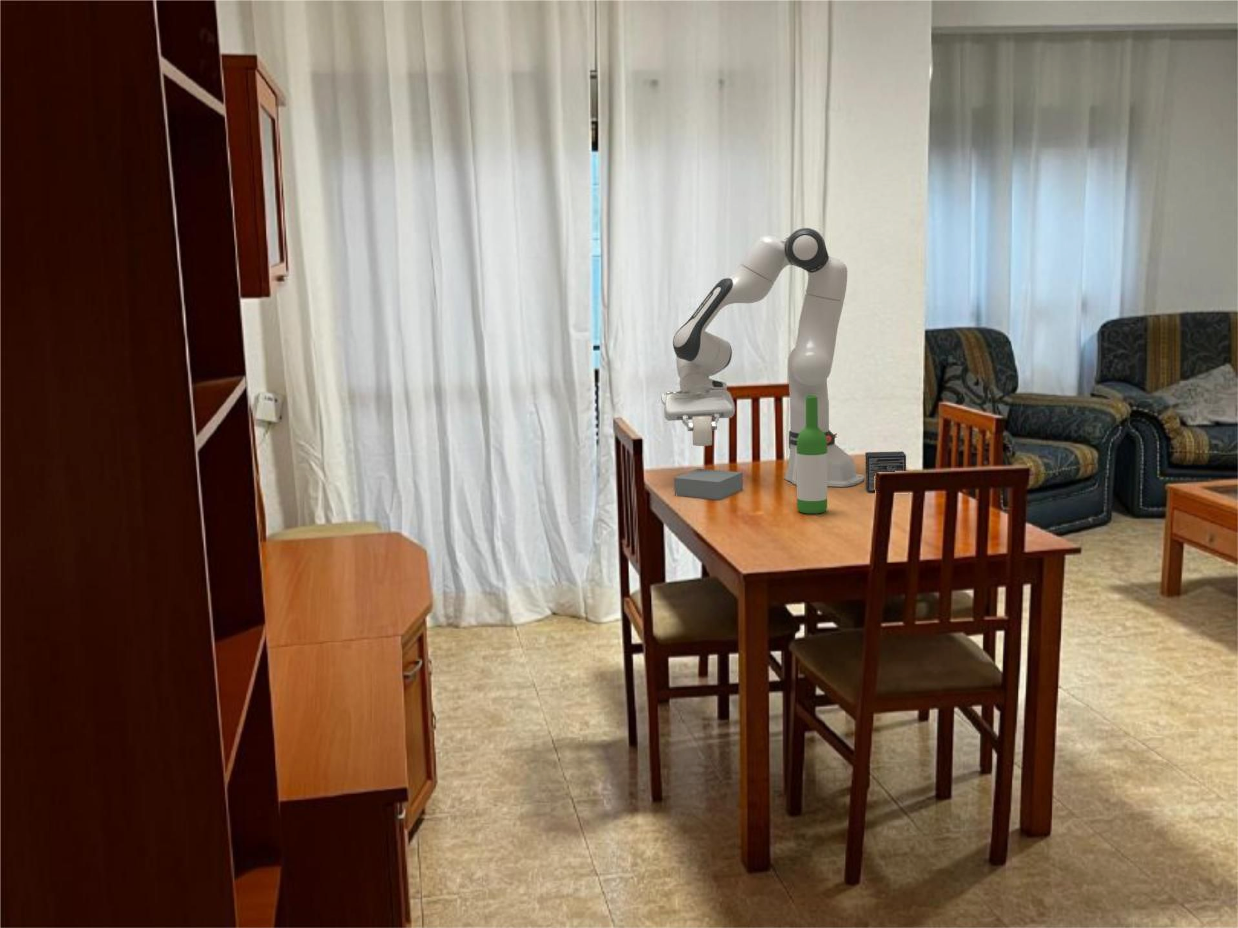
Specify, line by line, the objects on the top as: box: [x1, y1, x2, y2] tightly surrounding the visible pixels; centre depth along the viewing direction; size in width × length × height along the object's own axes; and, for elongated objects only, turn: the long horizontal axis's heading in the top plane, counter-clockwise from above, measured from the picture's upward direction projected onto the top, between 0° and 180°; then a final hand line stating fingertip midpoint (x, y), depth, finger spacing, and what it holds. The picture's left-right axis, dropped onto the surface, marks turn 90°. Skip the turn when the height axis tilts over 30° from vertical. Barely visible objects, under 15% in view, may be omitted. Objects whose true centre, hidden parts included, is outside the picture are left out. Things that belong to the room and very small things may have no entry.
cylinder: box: [691, 415, 713, 447], centre depth 334 cm, size 6×6×8 cm
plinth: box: [673, 468, 744, 501], centre depth 330 cm, size 14×14×5 cm
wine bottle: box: [796, 396, 828, 515], centre depth 302 cm, size 8×8×30 cm
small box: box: [865, 450, 907, 494], centre depth 324 cm, size 11×6×10 cm, turn 84°
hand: (702, 429), depth 334 cm, fingers closed on cylinder, 5 cm apart
